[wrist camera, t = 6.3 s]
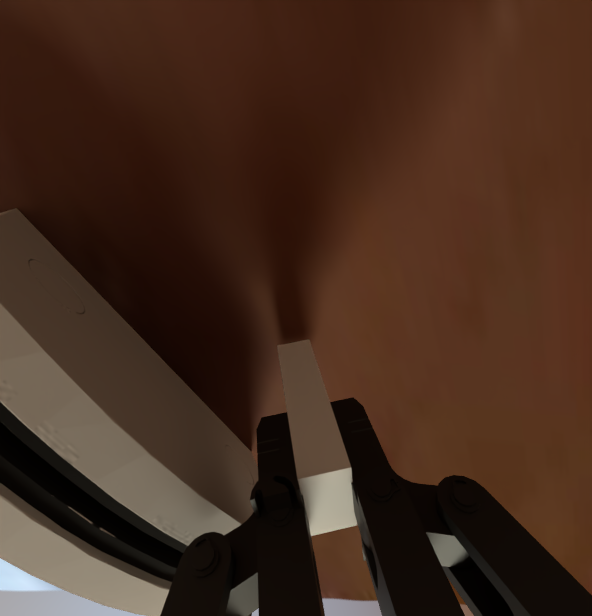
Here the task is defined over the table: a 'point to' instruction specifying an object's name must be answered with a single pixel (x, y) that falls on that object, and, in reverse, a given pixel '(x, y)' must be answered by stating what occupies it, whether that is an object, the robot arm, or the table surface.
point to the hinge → (100, 440)
